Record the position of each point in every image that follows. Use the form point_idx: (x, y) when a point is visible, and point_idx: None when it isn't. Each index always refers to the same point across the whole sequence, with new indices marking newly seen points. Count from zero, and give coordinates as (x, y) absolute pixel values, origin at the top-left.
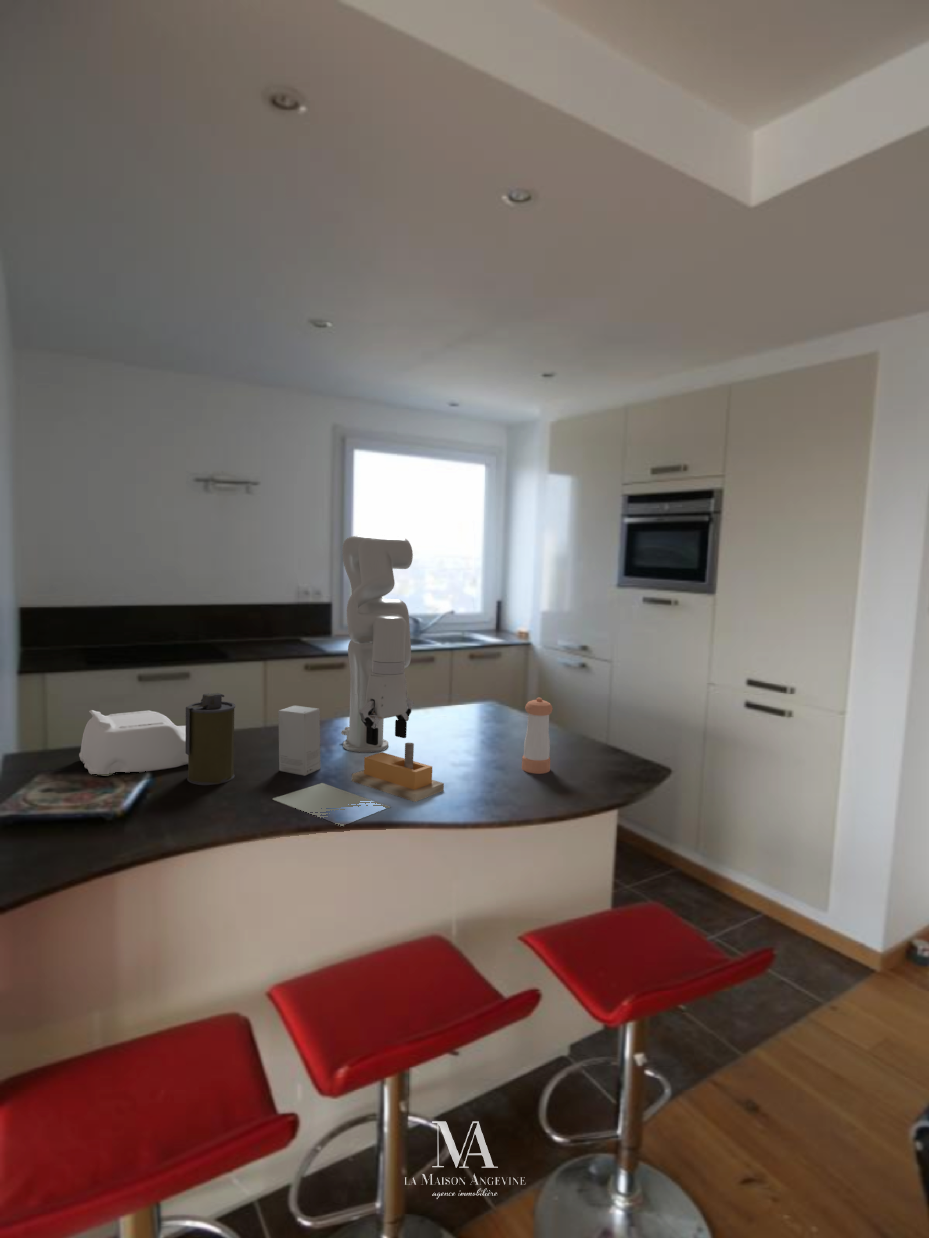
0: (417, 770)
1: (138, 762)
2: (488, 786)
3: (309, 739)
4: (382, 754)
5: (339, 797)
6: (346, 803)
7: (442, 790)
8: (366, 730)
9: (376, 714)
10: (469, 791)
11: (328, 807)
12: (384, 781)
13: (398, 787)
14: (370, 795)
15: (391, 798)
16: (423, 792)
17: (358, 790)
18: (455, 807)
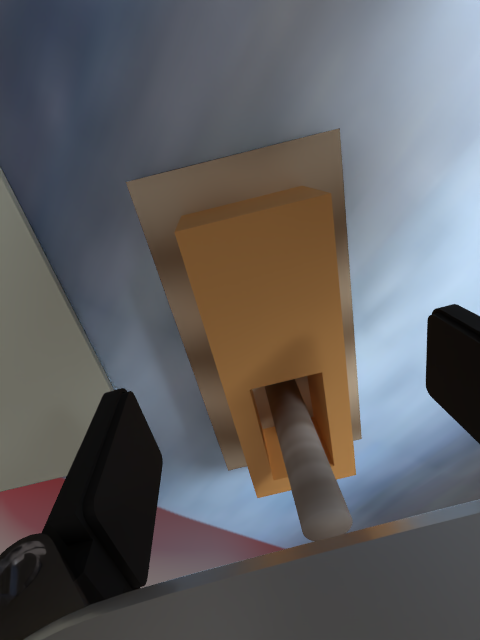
0: (278, 487)
1: None
2: (471, 437)
3: None
4: (301, 238)
5: (14, 332)
6: (23, 387)
7: None
8: (68, 474)
9: (290, 552)
10: (404, 443)
11: None
12: (208, 344)
13: (218, 411)
14: (139, 348)
15: (188, 397)
16: None
17: (120, 286)
18: (292, 499)
